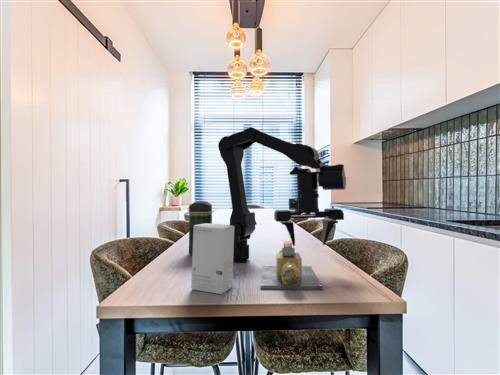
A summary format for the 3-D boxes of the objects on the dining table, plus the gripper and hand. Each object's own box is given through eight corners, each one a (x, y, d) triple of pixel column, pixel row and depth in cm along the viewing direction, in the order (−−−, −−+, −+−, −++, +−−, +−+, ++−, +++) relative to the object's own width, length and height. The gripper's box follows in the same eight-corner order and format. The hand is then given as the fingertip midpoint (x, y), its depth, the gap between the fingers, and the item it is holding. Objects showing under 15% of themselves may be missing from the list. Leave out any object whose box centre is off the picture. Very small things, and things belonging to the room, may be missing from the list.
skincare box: (190, 290, 65) (190, 225, 65) (204, 282, 70) (204, 222, 70) (223, 295, 62) (223, 227, 61) (235, 286, 67) (234, 223, 67)
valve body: (322, 291, 63) (322, 265, 63) (260, 290, 64) (260, 265, 64) (310, 268, 81) (310, 248, 81) (261, 267, 82) (261, 247, 82)
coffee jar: (210, 256, 96) (210, 201, 96) (186, 256, 96) (186, 201, 95) (213, 249, 105) (213, 200, 105) (192, 250, 105) (192, 200, 105)
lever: (294, 256, 71) (294, 250, 71) (282, 256, 71) (282, 249, 71) (293, 246, 82) (292, 241, 82) (281, 246, 83) (281, 240, 83)
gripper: (331, 189, 88) (332, 239, 89) (271, 190, 88) (272, 240, 88) (343, 189, 77) (345, 246, 77) (275, 191, 77) (277, 248, 77)
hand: (308, 245), depth 80 cm, fingers open, 8 cm apart
